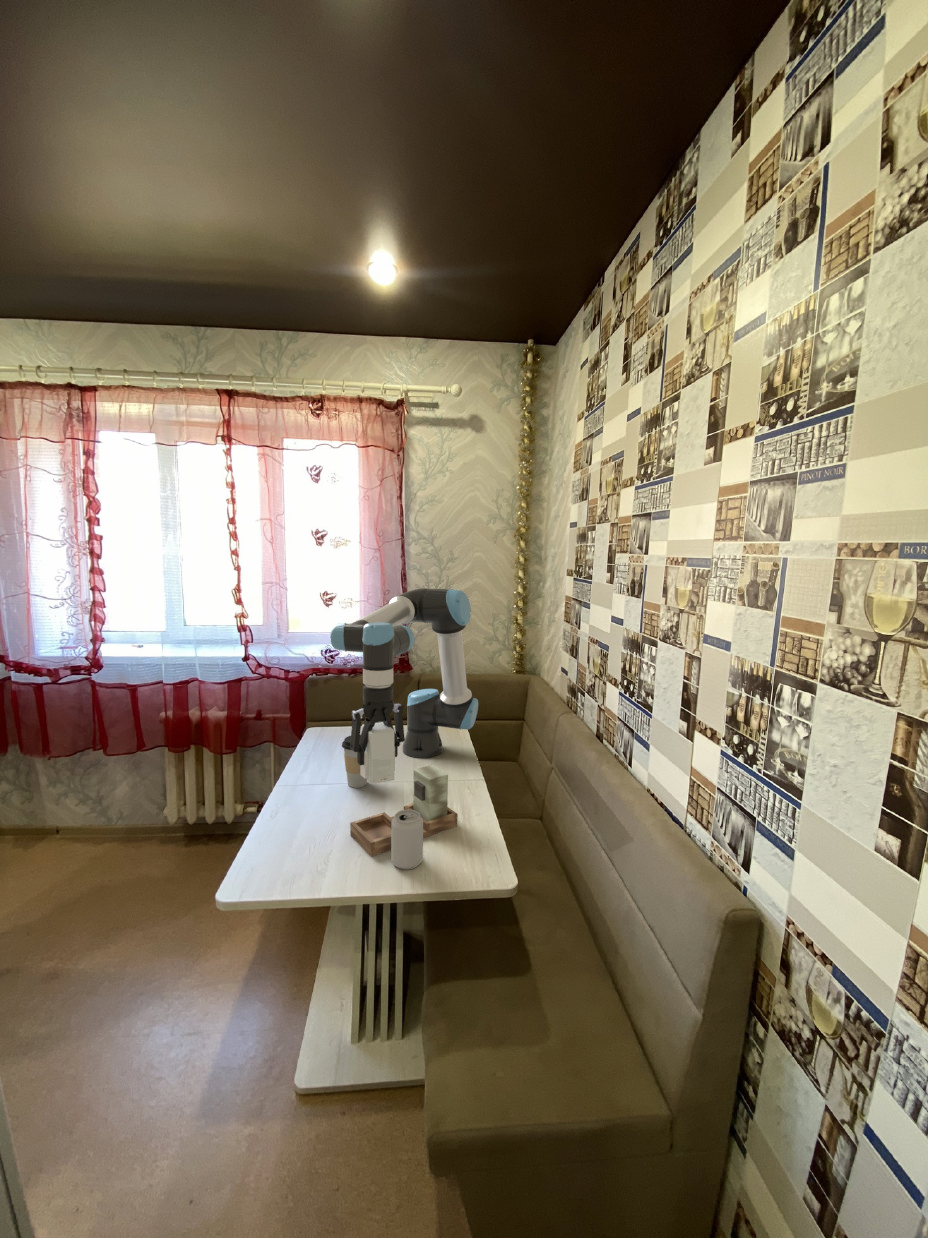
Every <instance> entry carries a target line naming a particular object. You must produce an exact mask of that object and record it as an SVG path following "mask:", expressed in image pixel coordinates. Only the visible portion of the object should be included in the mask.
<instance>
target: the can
mask: <svg viewBox="0 0 928 1238" xmlns="http://www.w3.org/2000/svg"><path fill="white" fill-rule="evenodd" d="M420 816H421V815H420V813H419V812H417V811H415V810H404V809H402V810H399V811H397V812H396V813H395V814H394V819H393V820H392V825H391V850H390V854H391V857H390V858H391V859H390V860H391V863H392V864H393V865H394V866H395V867H397V868H398V869H400V870H412V869H414V868H417V867H418V866H419V865H420V864H422V862H423V857H424V854H423V853H424V838H423V819H422V818H421V817H420Z"/></svg>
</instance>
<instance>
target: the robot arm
mask: <svg viewBox="0 0 928 1238" xmlns="http://www.w3.org/2000/svg"><path fill="white" fill-rule="evenodd" d="M471 612H472V610H471V603H470V599H469V597H468V595H467V593H465V592H464V591H463V590H461V589H454V588H449V589H448V588H445V589H444V588H423V587H422V588H421V587H420V588H416V589H412V590H409V591H405V592H403V593H400V594H398V595H397V596H394V597H392V598H391V600H390V601H389V602H388V603H387V604H385V605H384V606H382V607H380V608H379V609H376V610H375V611H373V612H371V613H369V614H367V615H365V616H363V617H361V618H359V619H357V620H355V621H354V622H351V623H346V622H343V623H340V622H339V623H336V624H334V626H333V627H332V628H331V631H330V637H329V638H330V644H331V646H332V647H333V649H334V650H336V651H343V652H345V653H346V652H350V653H351V652H353V653H354V652H355V653H362V663H363V664H362V684H363V686H362V701H363V702H362V705H361V708H359V709H358V710H354V709H353V710H351V712H350V713H351V714H350V715H351V719H352V723H351V724H352V725H351V732H350V736H351V740H350V749H351V750H353V751H354V752H357V762H358V764H359V765H360V775H361V776H362V777H364V778H365V779H366V778H368V752H366V751H365V750H366V747H367V744H368V731H371V730H372V728H373V727H374V725H375V723H379V722H383V723H384V725H386V726H387V727H391V728H392V729H393V730H394V731H395V733H394V772H395V771H396V758H397V757H398V754H399V753H398V749H399V747H400V746H401V743H402V753H403V754H405V755H406V756H408V757H413V758H419V759H420V758H424V759H425V758H430V757H431V758H432V757H436V756H439V755H440V754H441V753H442V752H443V742H442V740H441V735H440V733H439V728H440V727H442V728H447V729H449V728H450V729H457V730H467V731H468V730H470V729H472V728H473V727H474V725H475V722H476V719H477V715H478V710H479V700H478V698H475V697H473V694H472V691H471V689H469V688H468V683H467V673H466V661H465V651H464V650H465V649H464V640H463V631H465V629H466V628H467V625H468V624H469V623H470V620H471ZM409 623H426V624H431V630H432V632H433V633H435V634H436V636H437V645H438V646H437V647H438V653H439V661H440V662H439V663H440V672H441V680H442V681H441V682H442V689H443V691H441V693H440V692H439V690H438V689H436V688H423V689H422V688H421V689H418V690H414V691H412V692H410V693H409V694H408V696H407V704H406V707H407V708H406V710H407V711H406V712H407V715H406V716H407V719H406V720H407V721H406V724H407V725H406V726H407V729H406V730H407V731H406V734H405V730H404V729H405V728H404V719H403V717H404V716H403V713H404V705H402V704H401V703H399V702H397V703H394V701H393V699H394V686H393V684H394V657H396V656H399V655H402V654H405V653H407V652H408V651H410V650H411V649H412V647H413V646H414V644H415V639H416V638H415V634H414V632H413V630H412V629H411V628H410V627H408V626H407V624H409ZM392 711H393V721H394V726H393V723H392V722H393V721H392V717H391V713H392ZM363 715H364V716H365V717H364V721H363V724H364V727H363V730H362V719H363ZM360 735H361V736H360Z"/></svg>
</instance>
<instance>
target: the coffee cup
mask: <svg viewBox="0 0 928 1238" xmlns="http://www.w3.org/2000/svg"><path fill="white" fill-rule="evenodd" d="M360 736H361V734H360ZM350 740H351V735H348V736H345V738H344V739H343V741H342V742H341V748H343V756H344V757H343V758H344V767H345V772H346V779H347V785H348V786H349V787H350V788H353V789H354V788H355V789H356V788H362V787H364V786H366V785H367V783H368V780H367V779H365V778H364V777H362V776H361V775H360V765H359V764H358V762H357V752H354V751H353V750H351V749H350Z"/></svg>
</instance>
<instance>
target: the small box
mask: <svg viewBox="0 0 928 1238" xmlns="http://www.w3.org/2000/svg"><path fill="white" fill-rule="evenodd" d="M363 727H364V723H361V731H362V730H363ZM394 733H395V734H396V732H395V729H394V730H393V729H392V728H391V727H387V726H386V725H384V723H383V721H379V722H376V723H375V725H374V727H373V728H372V730H371V731H368V744H367V747H366V750H365V751H366V752H368V778H366V779H367V782H368V783H369V784H370V785H376V784H380V783H386V782H391V781H395V771H394Z"/></svg>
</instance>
